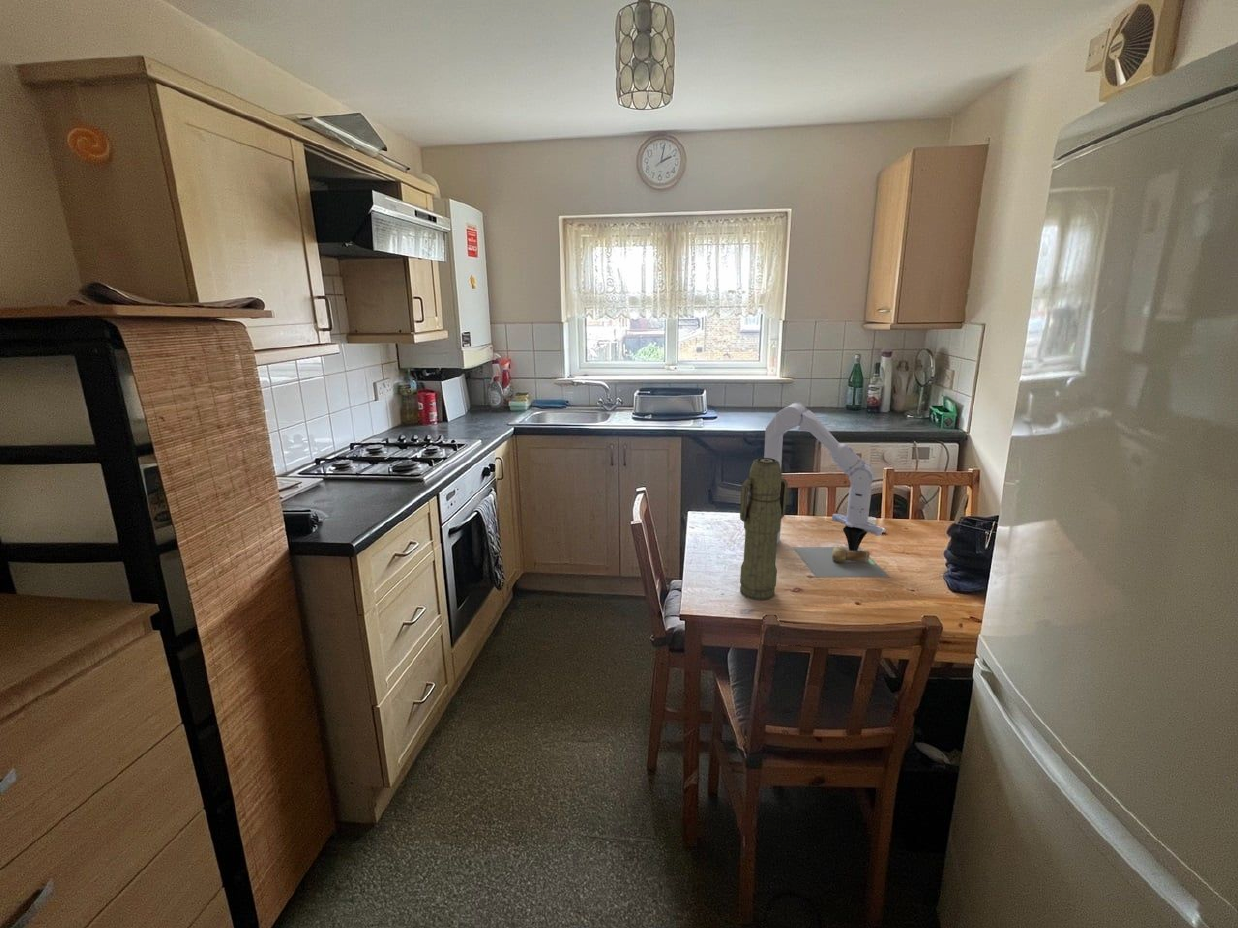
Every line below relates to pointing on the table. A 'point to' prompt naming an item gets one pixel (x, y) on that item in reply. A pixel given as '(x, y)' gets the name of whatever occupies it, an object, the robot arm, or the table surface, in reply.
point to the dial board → (837, 564)
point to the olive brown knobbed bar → (849, 555)
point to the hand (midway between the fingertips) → (853, 551)
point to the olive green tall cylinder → (761, 527)
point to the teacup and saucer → (874, 522)
